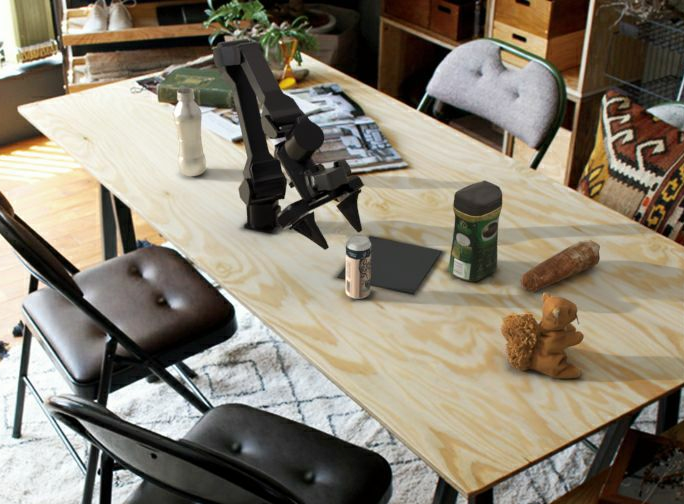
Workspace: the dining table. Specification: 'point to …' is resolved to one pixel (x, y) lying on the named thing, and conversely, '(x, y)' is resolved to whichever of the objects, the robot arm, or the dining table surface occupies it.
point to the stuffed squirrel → (543, 338)
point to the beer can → (358, 266)
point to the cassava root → (562, 265)
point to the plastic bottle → (189, 134)
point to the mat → (398, 264)
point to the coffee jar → (475, 231)
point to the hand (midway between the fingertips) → (344, 240)
